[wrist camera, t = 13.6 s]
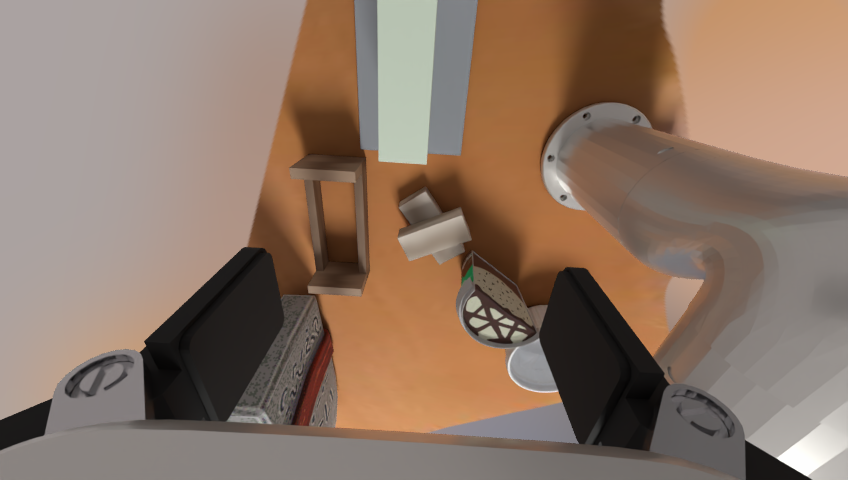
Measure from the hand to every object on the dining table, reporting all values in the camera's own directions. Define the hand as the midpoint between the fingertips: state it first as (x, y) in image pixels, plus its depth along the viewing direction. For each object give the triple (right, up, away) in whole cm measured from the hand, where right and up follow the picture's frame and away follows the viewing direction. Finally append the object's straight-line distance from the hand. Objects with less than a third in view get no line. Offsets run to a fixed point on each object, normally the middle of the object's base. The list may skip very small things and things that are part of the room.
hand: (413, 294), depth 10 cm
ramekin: (+19, -13, +41) cm, 47 cm away
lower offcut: (+2, +4, +33) cm, 33 cm away
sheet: (-1, +19, +23) cm, 30 cm away
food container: (+9, -4, +37) cm, 38 cm away
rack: (-11, +5, +32) cm, 34 cm away
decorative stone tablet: (-18, -18, +46) cm, 52 cm away
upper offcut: (+2, +3, +31) cm, 31 cm away
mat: (-1, +20, +24) cm, 31 cm away
